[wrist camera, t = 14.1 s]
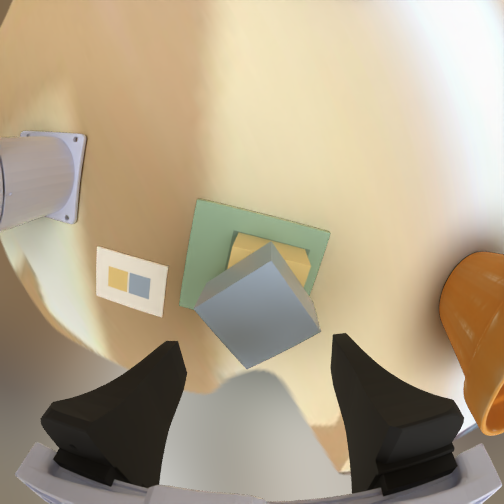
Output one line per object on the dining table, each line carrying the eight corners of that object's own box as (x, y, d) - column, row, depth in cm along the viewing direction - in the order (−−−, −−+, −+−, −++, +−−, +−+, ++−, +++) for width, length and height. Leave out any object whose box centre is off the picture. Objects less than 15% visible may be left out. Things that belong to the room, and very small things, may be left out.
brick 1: (224, 292, 22) (217, 314, 19) (238, 232, 21) (232, 246, 17) (285, 307, 22) (288, 331, 19) (304, 249, 21) (311, 266, 18)
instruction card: (97, 294, 24) (96, 295, 24) (98, 245, 23) (96, 246, 22) (162, 316, 24) (161, 317, 24) (168, 266, 23) (167, 267, 22)
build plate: (180, 302, 24) (178, 305, 23) (199, 198, 21) (197, 199, 20) (294, 330, 24) (295, 334, 23) (328, 231, 21) (330, 233, 20)
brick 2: (206, 282, 18) (193, 308, 15) (271, 240, 17) (271, 260, 14) (250, 336, 19) (246, 369, 16) (313, 302, 18) (320, 331, 15)
